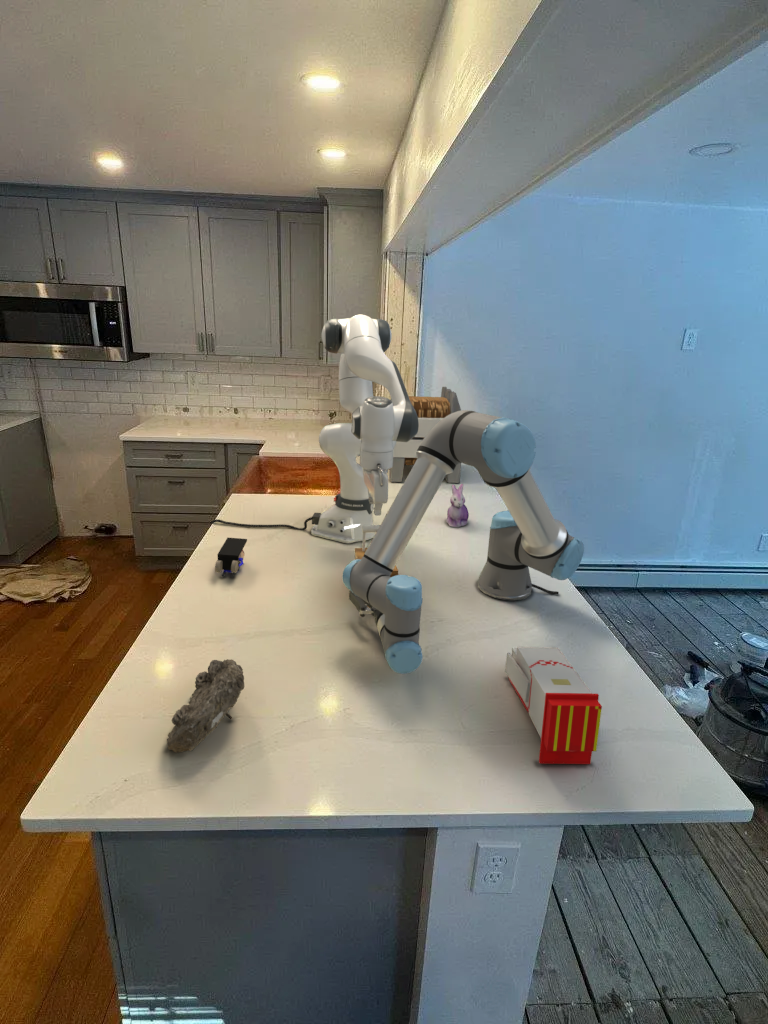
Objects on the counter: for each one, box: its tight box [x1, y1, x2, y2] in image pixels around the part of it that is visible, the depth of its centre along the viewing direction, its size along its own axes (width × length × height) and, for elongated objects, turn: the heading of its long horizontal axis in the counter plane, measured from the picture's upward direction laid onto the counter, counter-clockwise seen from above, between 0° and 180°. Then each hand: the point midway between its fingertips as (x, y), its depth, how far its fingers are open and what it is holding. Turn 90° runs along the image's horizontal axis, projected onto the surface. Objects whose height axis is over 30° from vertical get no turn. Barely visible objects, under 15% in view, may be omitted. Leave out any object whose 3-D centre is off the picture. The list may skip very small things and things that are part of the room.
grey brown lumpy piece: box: [166, 658, 245, 754], centre depth 106 cm, size 22×10×15 cm
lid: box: [354, 524, 399, 575], centre depth 153 cm, size 16×10×9 cm, turn 10°
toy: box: [504, 646, 603, 765], centre depth 112 cm, size 12×13×30 cm
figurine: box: [446, 483, 470, 528], centre depth 210 cm, size 9×10×15 cm
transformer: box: [388, 386, 462, 484], centre depth 268 cm, size 34×33×41 cm
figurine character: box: [214, 537, 248, 578], centre depth 166 cm, size 7×8×15 cm
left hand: (374, 508), depth 155 cm, fingers open, 8 cm apart
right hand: (377, 579), depth 152 cm, fingers closed on chest, 10 cm apart
